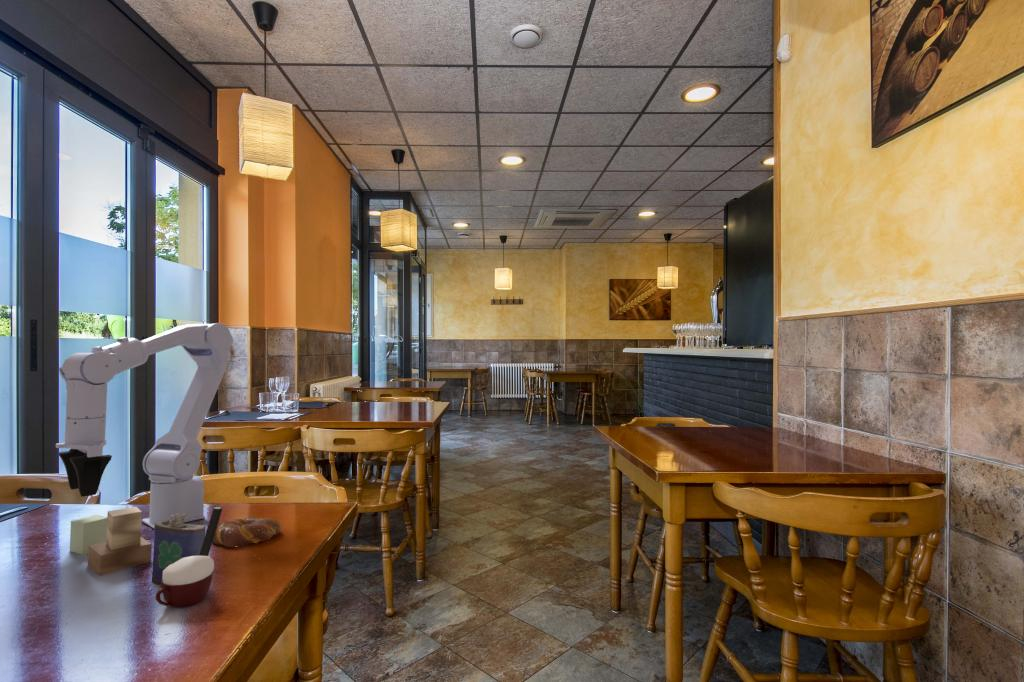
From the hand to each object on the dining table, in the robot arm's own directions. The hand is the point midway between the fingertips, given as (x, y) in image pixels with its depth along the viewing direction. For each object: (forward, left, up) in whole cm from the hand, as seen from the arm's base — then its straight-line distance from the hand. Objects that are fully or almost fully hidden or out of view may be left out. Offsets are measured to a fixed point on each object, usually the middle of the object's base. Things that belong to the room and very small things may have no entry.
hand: (83, 491), depth 93 cm
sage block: (-1, +1, -10) cm, 11 cm away
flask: (-6, +29, -11) cm, 31 cm away
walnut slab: (-3, +13, -11) cm, 17 cm away
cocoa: (-5, +37, -11) cm, 39 cm away
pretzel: (-22, +17, -11) cm, 30 cm away
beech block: (-3, +13, -7) cm, 15 cm away
